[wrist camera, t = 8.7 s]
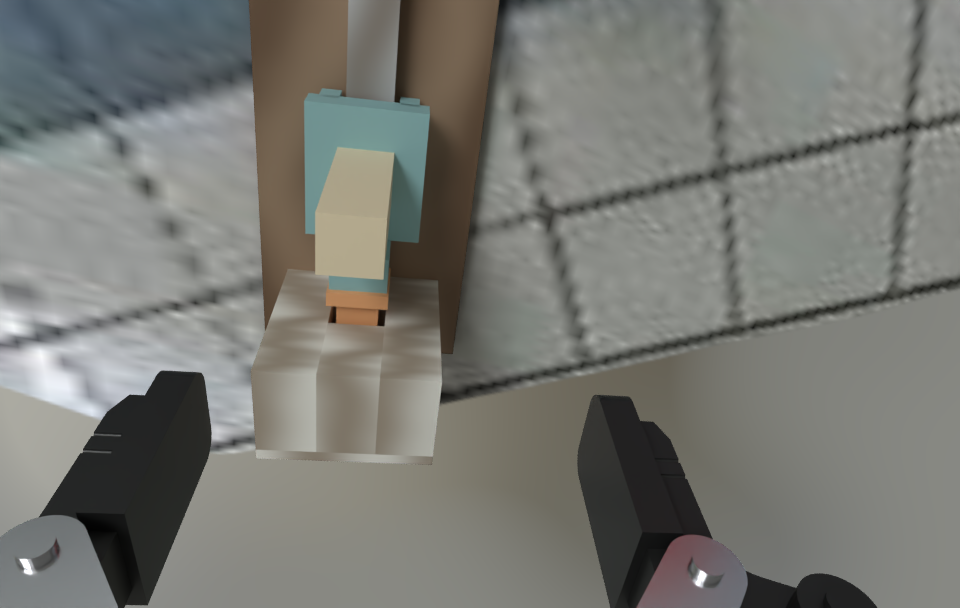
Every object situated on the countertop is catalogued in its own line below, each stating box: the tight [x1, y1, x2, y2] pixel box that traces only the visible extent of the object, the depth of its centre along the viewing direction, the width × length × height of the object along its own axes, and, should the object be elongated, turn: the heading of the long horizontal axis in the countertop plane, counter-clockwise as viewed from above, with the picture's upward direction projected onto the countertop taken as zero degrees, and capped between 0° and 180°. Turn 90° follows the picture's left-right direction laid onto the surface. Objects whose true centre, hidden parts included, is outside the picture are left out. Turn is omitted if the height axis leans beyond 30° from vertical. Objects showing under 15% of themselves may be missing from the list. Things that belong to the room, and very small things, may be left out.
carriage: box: [304, 88, 430, 294], centre depth 32 cm, size 6×9×11 cm, turn 173°
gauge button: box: [326, 268, 391, 326], centre depth 37 cm, size 3×6×3 cm, turn 172°
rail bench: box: [249, 0, 499, 465], centre depth 32 cm, size 12×27×11 cm, turn 173°
